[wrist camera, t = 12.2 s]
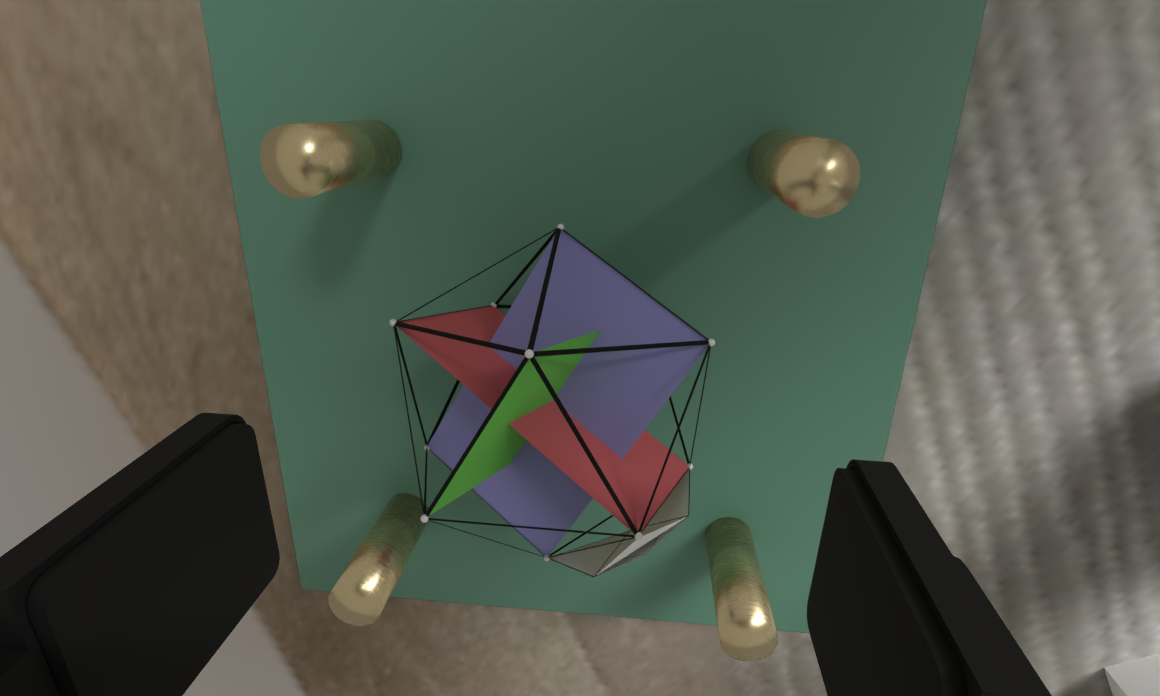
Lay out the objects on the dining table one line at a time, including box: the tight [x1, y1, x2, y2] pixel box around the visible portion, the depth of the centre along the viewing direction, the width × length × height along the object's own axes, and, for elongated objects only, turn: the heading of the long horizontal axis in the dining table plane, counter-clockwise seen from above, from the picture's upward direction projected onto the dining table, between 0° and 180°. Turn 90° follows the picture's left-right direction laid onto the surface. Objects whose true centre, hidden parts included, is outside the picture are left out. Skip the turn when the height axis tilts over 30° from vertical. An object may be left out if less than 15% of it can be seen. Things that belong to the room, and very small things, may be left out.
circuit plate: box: [200, 0, 987, 633], centre depth 18 cm, size 18×18×2 cm
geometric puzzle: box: [389, 224, 715, 577], centre depth 15 cm, size 7×7×8 cm
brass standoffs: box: [260, 119, 860, 661], centre depth 16 cm, size 11×12×4 cm
